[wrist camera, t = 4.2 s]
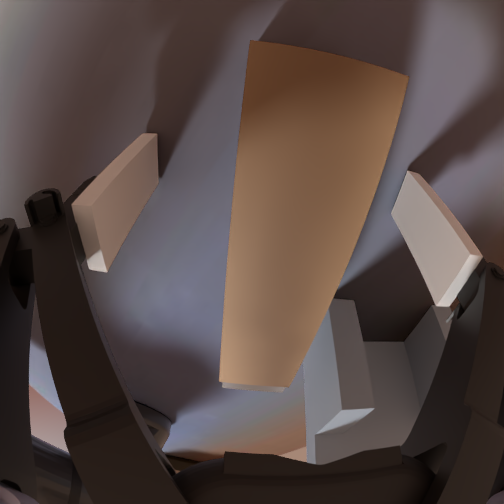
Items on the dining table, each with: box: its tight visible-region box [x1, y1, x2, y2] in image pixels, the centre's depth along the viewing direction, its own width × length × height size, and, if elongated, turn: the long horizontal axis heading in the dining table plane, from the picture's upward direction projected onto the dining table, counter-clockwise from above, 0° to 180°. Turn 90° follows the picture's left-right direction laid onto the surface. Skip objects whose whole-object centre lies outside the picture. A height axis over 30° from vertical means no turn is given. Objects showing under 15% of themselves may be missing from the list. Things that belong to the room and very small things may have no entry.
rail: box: [219, 40, 409, 392], centre depth 13 cm, size 4×17×6 cm, turn 173°
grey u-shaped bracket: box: [303, 299, 452, 465], centre depth 17 cm, size 12×7×15 cm, turn 83°
